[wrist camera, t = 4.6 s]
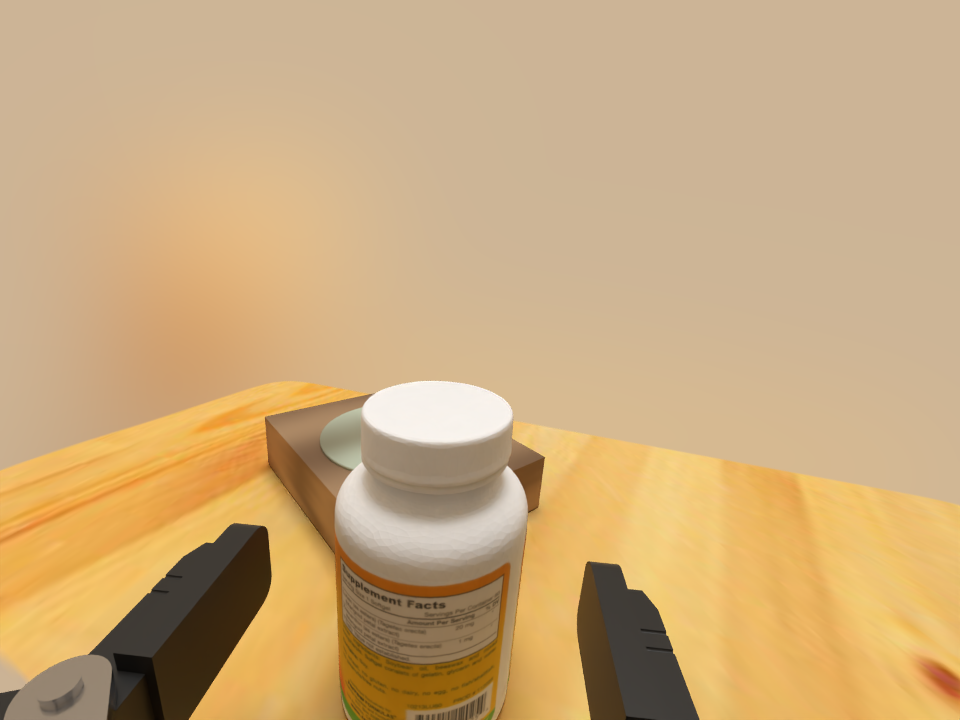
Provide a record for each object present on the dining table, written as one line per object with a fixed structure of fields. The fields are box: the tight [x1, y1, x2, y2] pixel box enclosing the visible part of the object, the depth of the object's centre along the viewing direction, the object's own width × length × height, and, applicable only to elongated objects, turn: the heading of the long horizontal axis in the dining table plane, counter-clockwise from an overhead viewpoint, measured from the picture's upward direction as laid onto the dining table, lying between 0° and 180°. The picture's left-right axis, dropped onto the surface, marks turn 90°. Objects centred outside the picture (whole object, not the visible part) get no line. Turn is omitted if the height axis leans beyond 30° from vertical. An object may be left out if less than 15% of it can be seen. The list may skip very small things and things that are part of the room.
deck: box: [265, 393, 545, 553], centre depth 25 cm, size 12×10×3 cm
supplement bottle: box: [335, 381, 528, 720], centre depth 13 cm, size 5×5×10 cm
